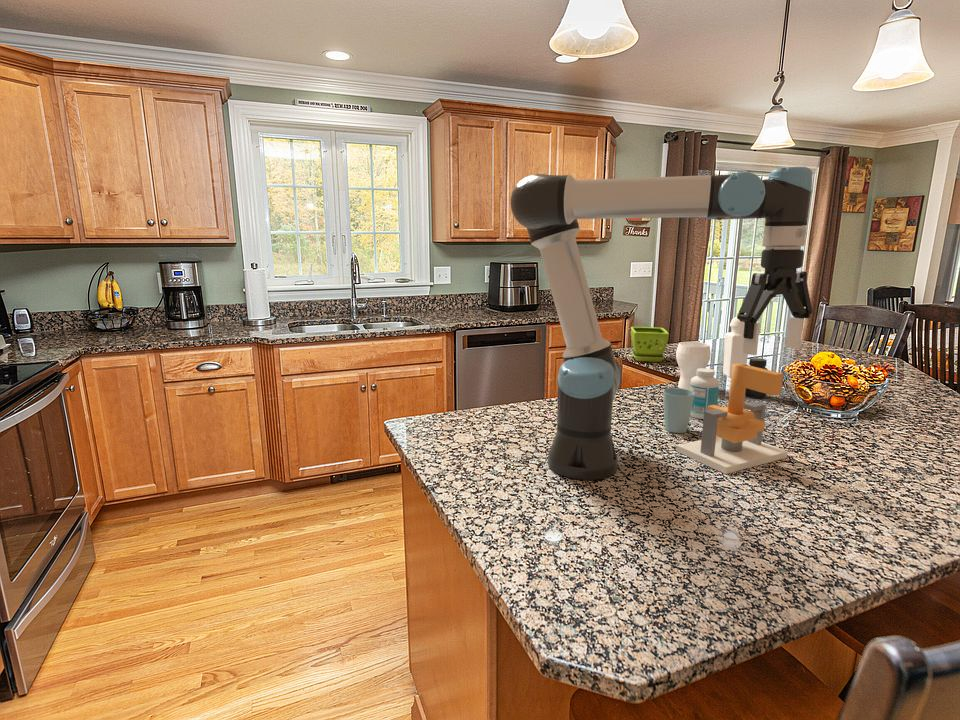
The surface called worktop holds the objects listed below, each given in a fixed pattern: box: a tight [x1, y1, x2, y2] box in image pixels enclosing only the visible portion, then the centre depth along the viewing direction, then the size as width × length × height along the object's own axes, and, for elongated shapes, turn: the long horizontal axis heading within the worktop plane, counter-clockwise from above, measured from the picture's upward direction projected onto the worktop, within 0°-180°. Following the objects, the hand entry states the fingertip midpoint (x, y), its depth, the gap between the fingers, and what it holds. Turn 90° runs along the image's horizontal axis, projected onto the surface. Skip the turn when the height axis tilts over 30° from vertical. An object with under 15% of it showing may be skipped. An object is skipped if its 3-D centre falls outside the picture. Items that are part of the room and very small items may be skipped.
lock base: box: [675, 401, 789, 475], centre depth 123 cm, size 20×14×11 cm
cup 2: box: [675, 341, 712, 390], centre depth 178 cm, size 11×11×15 cm
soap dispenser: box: [722, 316, 749, 378], centre depth 193 cm, size 6×6×22 cm
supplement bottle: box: [745, 357, 769, 399], centre depth 169 cm, size 7×7×12 cm
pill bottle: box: [690, 367, 720, 420], centre depth 150 cm, size 8×7×14 cm
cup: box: [662, 387, 695, 434], centre depth 139 cm, size 8×8×10 cm
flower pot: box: [630, 326, 670, 363], centre depth 221 cm, size 14×14×13 cm
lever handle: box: [707, 363, 784, 443], centre depth 120 cm, size 8×16×17 cm, turn 26°
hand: (771, 351), depth 112 cm, fingers open, 13 cm apart
